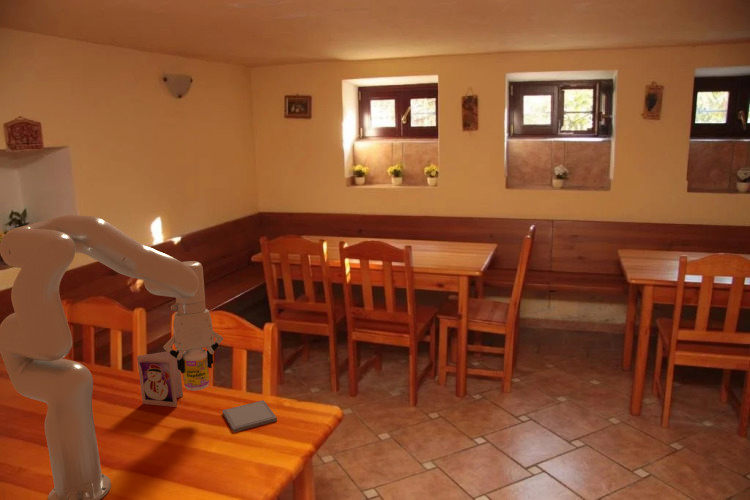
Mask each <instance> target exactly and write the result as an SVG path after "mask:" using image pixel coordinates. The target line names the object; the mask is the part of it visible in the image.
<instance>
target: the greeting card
mask: <svg viewBox="0 0 750 500" xmlns="http://www.w3.org/2000/svg"><path fill="white" fill-rule="evenodd" d="M174 350H175V351H177V349H174ZM136 360H137V367H138V375H139V376H138V377H139V383H140V384H139V385H140V393H141V399H142V404H143V405H153V406H165V407H171V408H172V407H175V408H178V399H177V398H182V397H184V393H183V392H184V391H183V383H182V373H181V371H180V370H178V367H177V358H175V357H174V356H172V355H171V354H170V353H168V352H167V351H166V350H165V351H161V352H156V353H155V352H153V353H148V354H141V355H137V356H136Z"/></svg>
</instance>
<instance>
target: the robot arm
mask: <svg viewBox="0 0 750 500" xmlns="http://www.w3.org/2000/svg"><path fill="white" fill-rule="evenodd" d="M76 253H77V254H83V255H86V256H88V257H90V258H91V259H93V260H95V261H97V262H99V263H101V264H102V265H103V266H106V267H108V268H109V269H111V270H113V271H114V272H116V273H118V274H120V275H123V276H125V277H129V278H133V279H137V280H143V284H144V287H145V289H146V291H147V292H149V293H150V294H152V295H155V296H160V297H161V296H162V297H170V298H175V304H173V305H170V310H171V311H176V312H174V315H173V335H172V337H171V338H170V339H169V340H168V341H167V342H166V343H165V344H164V345H163V349H164V351H165V352H166V351H167V352H168V353H170V354H171V355H172V356H174V357H175V358H177V367H178V370H180V372H181V374H184V373H185V371H184V360H183V358H182V355H183V353H184V352H185V351H187V350H193V349H199V348H202V349H204V348H206V352H207V357H208V369H212V368H213V367H212V365H214V353H215V351H216V350H217V349H218V348H219V346H220V344H222V342H223V341H224V337H223V336H222V335H220V334H219V333H217V332H215V330H214V329H213V327H214V326H213V324H212V323H213V322H212V317H211V313H210V310H209V309H208V308H206V295H205V294H206V293H205V281H204V269H203V265H202V263H201V262H199V261H197V260H196V261H195V260H191V261H190V260H188V261H181V260H178V259H177V258H174V256H170V255H169V254H166V253H163V252H161V251H159V250H156V249H155V248H152V247H150V246H148V245H145V244H143V243H141V242H139V241H137V240H135V239H134V238H132V236H129V235H128V234H126V233H125V232H123V231H122V230H120V229H119V228H118V227H116V226H114V225H113V224H111V223H110V222H108V221H107V220H104V219H103V218H101V217H97V216H91V215H79V214H78V215H73V214H68V215H66V214H65V215H61V216H58V217H54V218H50V219H46V220H41V221H39V222H34V223H30V224H26V225H22V226H19V227H16V228H13V229H11V230H9V231H8V232H7V233H5V234H4V236H3V237H2V238H1V240H0V257H1V258H2V259H3V261H5V263H7V264H8V265H9V266H11V267H14V268H18V269H19V268H20V270H19V272H18V274H17V276H16V277H15V279H14V282H13V284H12V287H11V293H10V296H11V303H12V304H11V305H12V307H13V311H14V312H12V313H11V314H8V316H6V317H5V318H4V319H3V321H1V323H0V355H1V359H2V361H3V364H4V367H5V369H6V372H7V374H8V377H9V379H10V382H11V385H12V386H13V388H14V389H15V391H16V392H17V393H19V394H20V395H21V396H23V397H25V398H28V399H31V400H34V401H39V402H42V403H45V404H46V405H47V412H46V416H45V419H44V433H45V438H46V443H47V449H48V454H49V462H50V467H51V473H52V478H53V485H54V486H53V487H54V488H52V489H51V491H50V492H49V494H48V497H47V500H102V499H103V498H104V497H105V496H106V495H107V494H108V493H109V491H110V489H111V487H112V484H111V483H112V482H111V479H110V477H109V476H108V475H106V474H103V473H102V467H101V460H100V453H99V447H98V441H97V434H96V433H97V432H96V426H95V421H94V413H93V390H94V379H93V375H92V373H91V371H90V369H88V367H87V366H85V365H83V364H82V363H81V362H77V361H75V360H71V359H66V358H65V357H66V356H67V355H68V354H69V353H70V352H71V349H72V347H73V336H72V331H71V328H70V325H69V323H68V318H67V316H66V313H65V310H64V307H63V303H62V299H61V296H60V285H61V281H62V279H63V276H64V275H65V273H66V272H67V270H68V269H69V268H70V266H71V264H72V262H73V260H74V259H75V256H76ZM173 345H174V346H175V349H173V348H172V347H173ZM175 350H177V351H175Z"/></svg>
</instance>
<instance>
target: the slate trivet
mask: <svg viewBox="0 0 750 500" xmlns="http://www.w3.org/2000/svg"><path fill="white" fill-rule="evenodd" d="M274 413H275V412H274V411H272V410H271V408H270V407H269V405H268V404H267V403H266V401H265V400H264V399H263V400H258V401H255V402H251V403H248V404H244V405H243V404H242V405H239V406H235V407H232V408H228V409H226V408H225V409H222V415H223V416H224V418H225V420H226V421H227V423H228V425H229V427H230V429H231V431H232V432H233V433H236V432H240V431H244V430H248V429H252V428H256V427H259V426H263V425H266V424H267V425H268V424H271V423H273V422H277V421H278V417H277V416H276V415H275V414H274Z"/></svg>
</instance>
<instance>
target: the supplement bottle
mask: <svg viewBox="0 0 750 500" xmlns="http://www.w3.org/2000/svg"><path fill="white" fill-rule="evenodd" d="M182 358H183V360H184V371H185V373H183V384H184V388H185V390H187V391H188V390H189V391H200V390H204V389H206V388H207V387H208V386H209V385H210V376H209V374H210V373H209V367H208V357H207V349H204V348H199V349H193V350H187V351H184V353H183V355H182Z"/></svg>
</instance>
